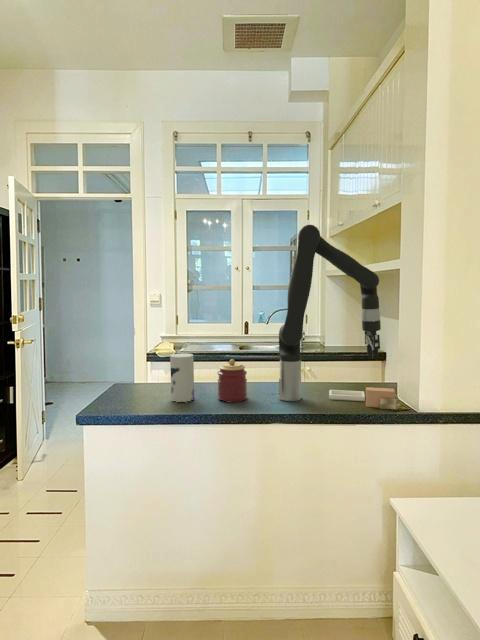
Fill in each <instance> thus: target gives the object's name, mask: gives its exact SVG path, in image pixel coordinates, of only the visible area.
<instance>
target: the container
mask: <svg viewBox="0 0 480 640" xmlns="http://www.w3.org/2000/svg"><path fill="white" fill-rule="evenodd" d="M169 359H170V360H169V361H170V365H169V366H170V390H171V391H170V399H172V400H174V401H189V400H192V399H194V400H195V376H194V372H195V370H194V369H195V368H194V362H195V361H194V354H193V353H173V354H170V357H169ZM172 400H171V401H172Z"/></svg>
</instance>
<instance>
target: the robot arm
mask: <svg viewBox="0 0 480 640" xmlns="http://www.w3.org/2000/svg"><path fill="white" fill-rule="evenodd" d="M297 240H298V241H297V251H296V258H295V262H294V264H293V266H292V267H293V268H292V270H291V274H290V278H289V283H288V287H287V311H286V317H285V321H284V324H282V325H281V326H280V328H279V331H278V350H279V351H278V353H279V378H278V400H280V401H286V402H296V401H300V400H301V399H302V353H301V343H300V342H301V341H302V339H303V331H304V319H305V313H306V309H307V305H308V303H309V302H308V301H309V296H310V294H311V293H310V292H311V288H312V281H313V272H314V260H315V256H316V254H317V255H318V256H321V257H322V258H323V259H325V260H327V262H329V263H330V264H332V265H333V266H334V267H335V268H337V269H338V270H340V271H341V272H342V273H343V274H345V275H346V276H348V277H349V278H352V279H353V280H354V281H356V282H358V283H359V288H360V293H361V295H360V296H361V328H362V329H361V330H362V331H363V332H364V345H365V347H366V355H367V356H372V359H373V360H376V359H377V360H378V359H379V350H380V349H381V341H380V339H381V338H380V334H378V333H377V331H381V328H382V327H381V310H380V299H379V295H378V286H379V282H380V278H379V276H378V274H376V273H375V272H373V270H371V269H369V268H368V267H366V266H364V265H362V264H361V263H360V262H359V261H357V260H356V259H355V258H353V257H351V256H350V255H349V254H348V253H346V252H345V251H342V250H340V249H339V248H337V247H335V246H333V245H332V244H330V243H329V242H328V241H327V240H325V238H323V237H322V236H321V231H320V230H319V228H318V227H317V226H315V225H314V224H306V225H304V226H303V227H301V228H300V230H299V231H298V235H297Z"/></svg>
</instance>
